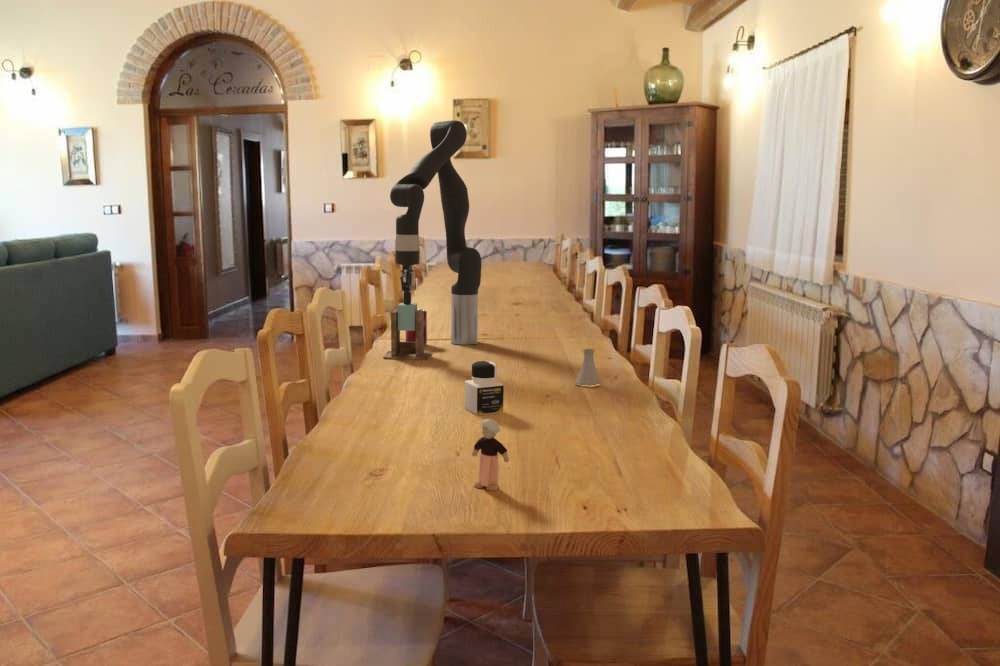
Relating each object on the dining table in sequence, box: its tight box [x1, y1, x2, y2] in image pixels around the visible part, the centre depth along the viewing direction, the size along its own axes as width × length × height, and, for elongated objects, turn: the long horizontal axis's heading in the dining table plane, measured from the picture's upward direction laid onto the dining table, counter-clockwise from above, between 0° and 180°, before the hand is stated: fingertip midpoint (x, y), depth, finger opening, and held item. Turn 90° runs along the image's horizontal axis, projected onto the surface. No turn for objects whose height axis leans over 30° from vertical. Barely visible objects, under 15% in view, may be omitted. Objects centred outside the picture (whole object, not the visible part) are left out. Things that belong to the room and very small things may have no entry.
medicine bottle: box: [464, 360, 505, 417], centre depth 202 cm, size 7×7×12 cm
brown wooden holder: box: [382, 308, 432, 361], centre depth 267 cm, size 14×10×15 cm
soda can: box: [405, 308, 428, 347], centre depth 287 cm, size 7×7×12 cm
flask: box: [575, 348, 601, 386], centre depth 231 cm, size 7×7×10 cm
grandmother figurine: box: [471, 418, 510, 492], centre depth 150 cm, size 8×4×13 cm, turn 69°
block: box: [397, 302, 418, 332], centre depth 266 cm, size 5×5×8 cm
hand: (407, 304), depth 266 cm, fingers closed
